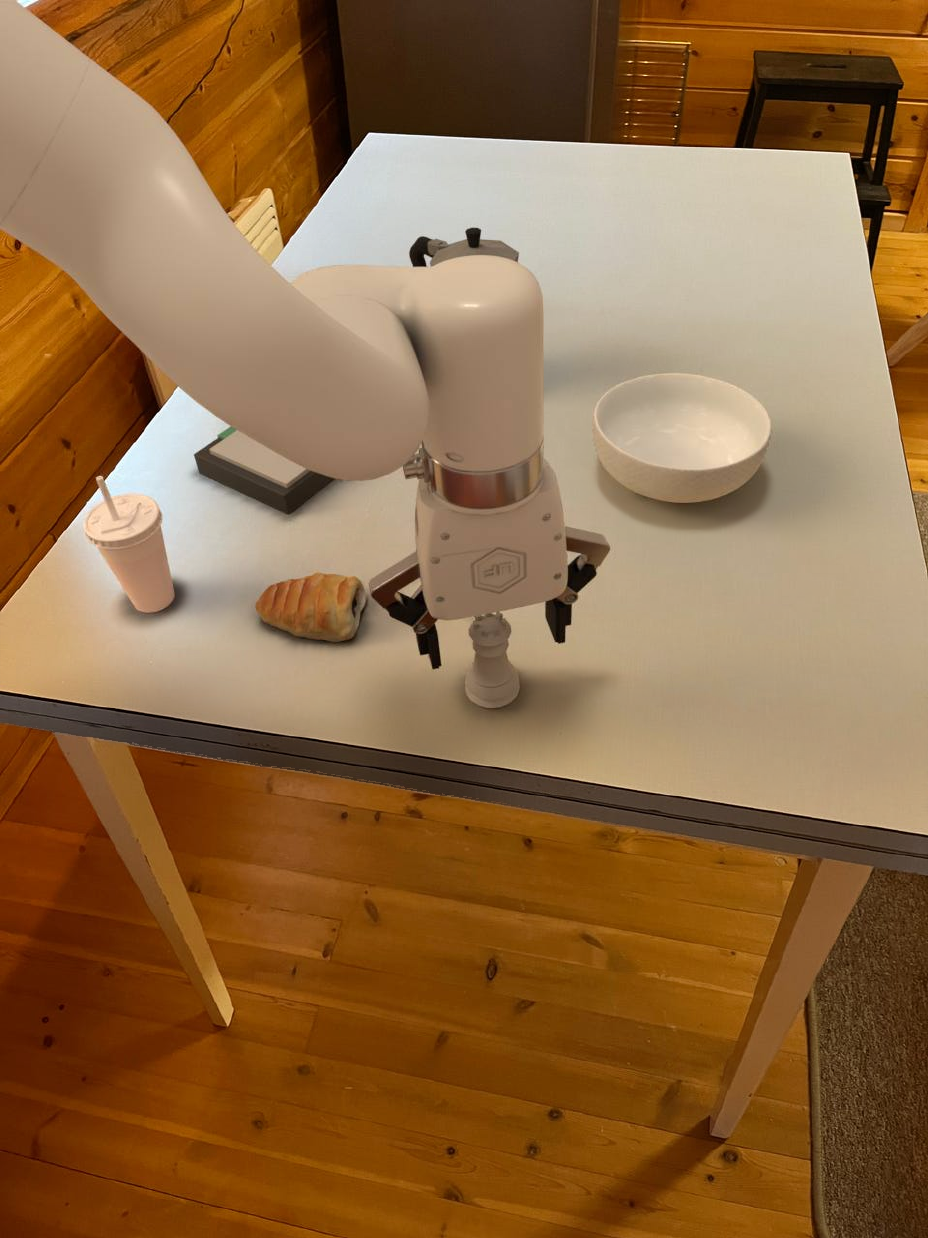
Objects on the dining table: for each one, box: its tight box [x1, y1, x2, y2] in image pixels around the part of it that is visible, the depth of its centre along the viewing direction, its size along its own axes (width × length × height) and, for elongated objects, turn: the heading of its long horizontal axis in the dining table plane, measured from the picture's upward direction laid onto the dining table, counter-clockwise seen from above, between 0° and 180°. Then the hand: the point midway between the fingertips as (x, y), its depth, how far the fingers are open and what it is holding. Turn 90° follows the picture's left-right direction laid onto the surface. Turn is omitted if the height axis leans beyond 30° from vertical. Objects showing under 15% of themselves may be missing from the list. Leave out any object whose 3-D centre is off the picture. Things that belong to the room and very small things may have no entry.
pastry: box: [254, 572, 367, 643], centre depth 81 cm, size 9×7×4 cm
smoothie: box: [82, 475, 176, 614], centre depth 80 cm, size 6×6×14 cm
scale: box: [193, 426, 336, 515], centre depth 98 cm, size 13×13×3 cm
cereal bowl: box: [592, 372, 773, 504], centre depth 91 cm, size 17×17×7 cm
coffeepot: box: [408, 227, 520, 267], centre depth 102 cm, size 15×9×18 cm, turn 53°
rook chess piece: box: [464, 611, 521, 710], centre depth 72 cm, size 4×4×8 cm
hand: (494, 643), depth 71 cm, fingers open, 9 cm apart
